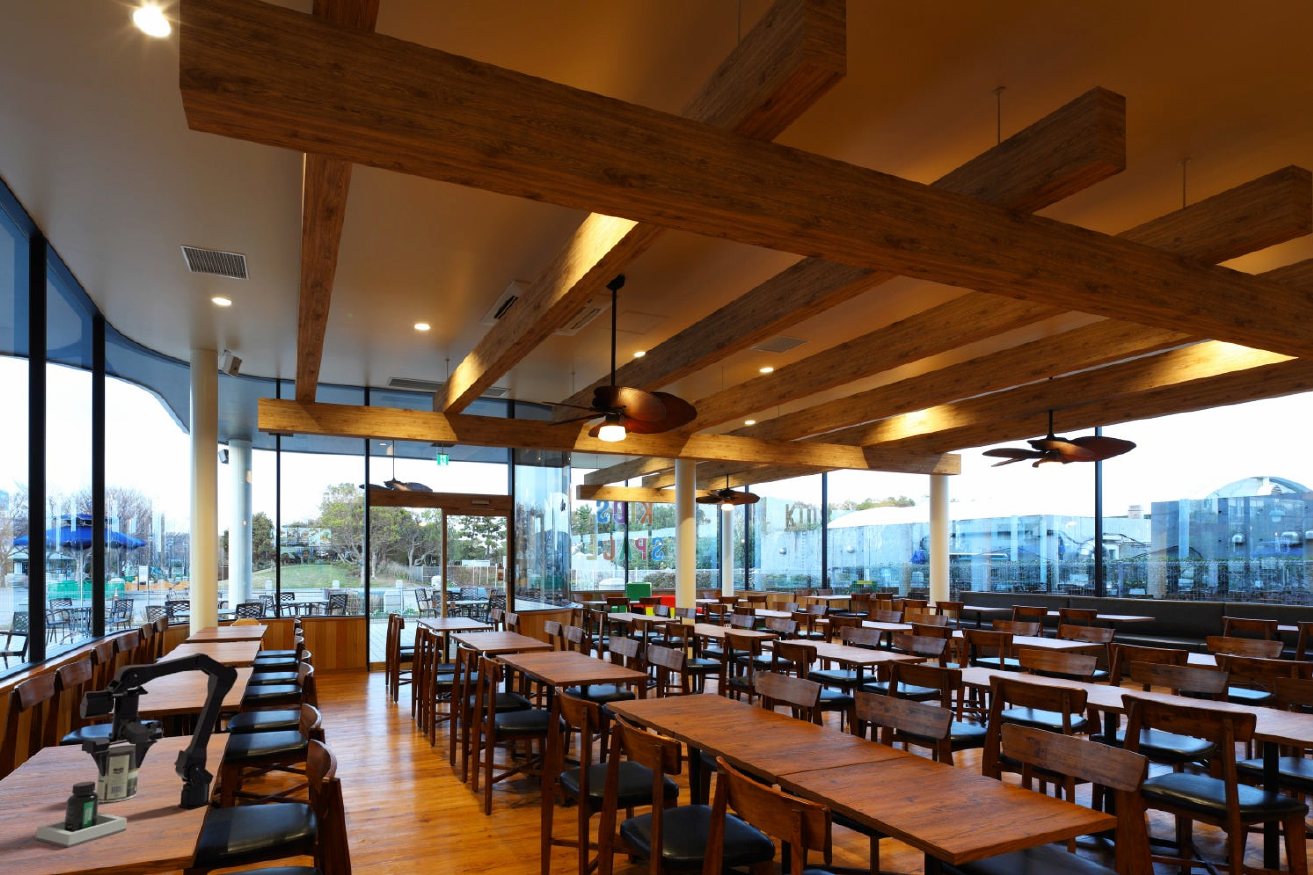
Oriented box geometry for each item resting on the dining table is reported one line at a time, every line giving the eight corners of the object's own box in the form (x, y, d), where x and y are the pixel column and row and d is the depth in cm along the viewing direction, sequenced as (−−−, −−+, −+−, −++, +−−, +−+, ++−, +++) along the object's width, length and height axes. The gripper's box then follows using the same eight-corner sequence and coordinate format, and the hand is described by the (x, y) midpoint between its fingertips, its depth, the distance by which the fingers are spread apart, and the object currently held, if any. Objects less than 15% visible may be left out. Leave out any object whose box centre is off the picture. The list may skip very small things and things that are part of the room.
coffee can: (126, 791, 249) (130, 743, 251) (143, 796, 244) (147, 747, 246) (88, 799, 240) (93, 750, 242) (105, 805, 235) (109, 754, 237)
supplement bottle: (93, 833, 208) (98, 784, 210) (61, 838, 205) (65, 788, 207) (97, 826, 214) (101, 778, 216) (66, 830, 211) (70, 782, 213)
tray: (94, 823, 219) (95, 811, 219) (125, 830, 213) (126, 818, 213) (36, 839, 206) (37, 827, 207) (68, 847, 200) (69, 834, 201)
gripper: (108, 721, 211) (102, 784, 209) (177, 709, 228) (172, 767, 226) (83, 718, 216) (77, 779, 214) (152, 706, 233) (147, 763, 231)
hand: (120, 772), depth 221 cm, fingers open, 9 cm apart
